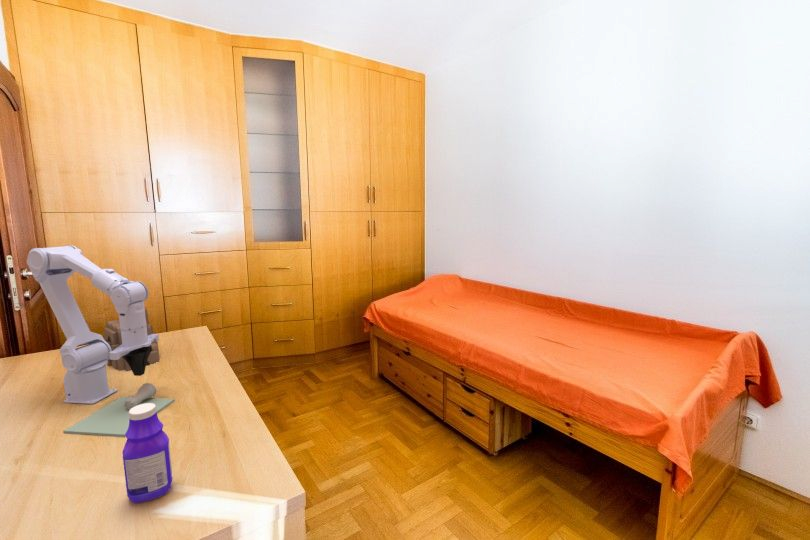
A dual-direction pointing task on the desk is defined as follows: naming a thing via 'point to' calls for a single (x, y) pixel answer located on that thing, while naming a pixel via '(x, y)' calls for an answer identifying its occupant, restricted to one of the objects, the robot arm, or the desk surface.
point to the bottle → (146, 455)
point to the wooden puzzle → (115, 341)
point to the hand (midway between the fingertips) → (139, 374)
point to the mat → (112, 418)
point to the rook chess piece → (141, 395)
